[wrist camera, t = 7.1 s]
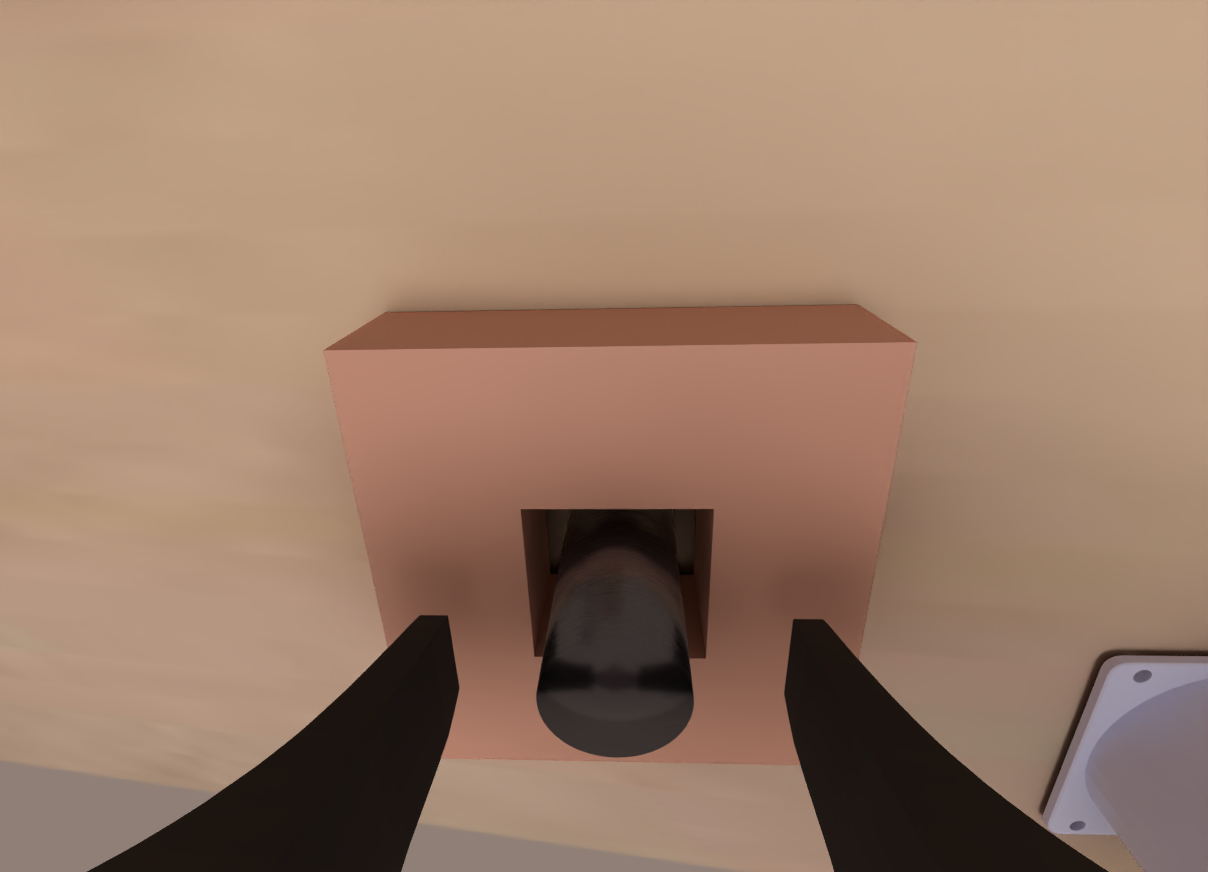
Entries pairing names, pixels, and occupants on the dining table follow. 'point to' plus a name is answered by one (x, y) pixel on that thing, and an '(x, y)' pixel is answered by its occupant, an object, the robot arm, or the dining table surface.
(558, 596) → the peg
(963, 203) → the dining table surface
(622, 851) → the dining table surface
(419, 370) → the socket block
